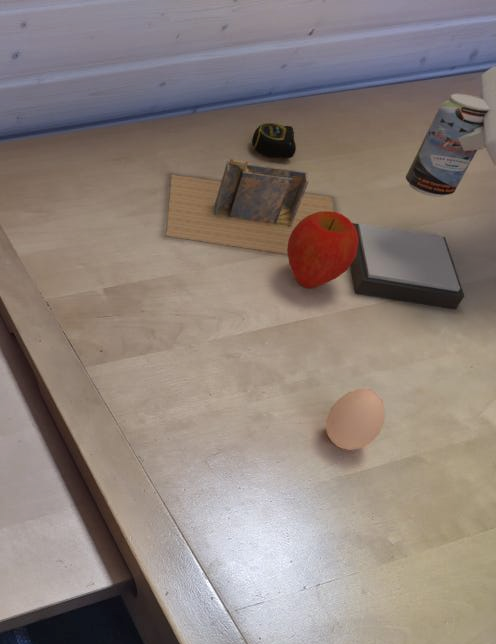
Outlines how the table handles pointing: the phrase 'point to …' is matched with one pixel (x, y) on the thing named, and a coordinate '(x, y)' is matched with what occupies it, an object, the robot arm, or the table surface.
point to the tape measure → (274, 141)
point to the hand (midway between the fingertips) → (444, 136)
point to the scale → (405, 267)
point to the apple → (321, 248)
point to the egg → (355, 419)
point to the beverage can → (449, 161)
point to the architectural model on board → (243, 206)
